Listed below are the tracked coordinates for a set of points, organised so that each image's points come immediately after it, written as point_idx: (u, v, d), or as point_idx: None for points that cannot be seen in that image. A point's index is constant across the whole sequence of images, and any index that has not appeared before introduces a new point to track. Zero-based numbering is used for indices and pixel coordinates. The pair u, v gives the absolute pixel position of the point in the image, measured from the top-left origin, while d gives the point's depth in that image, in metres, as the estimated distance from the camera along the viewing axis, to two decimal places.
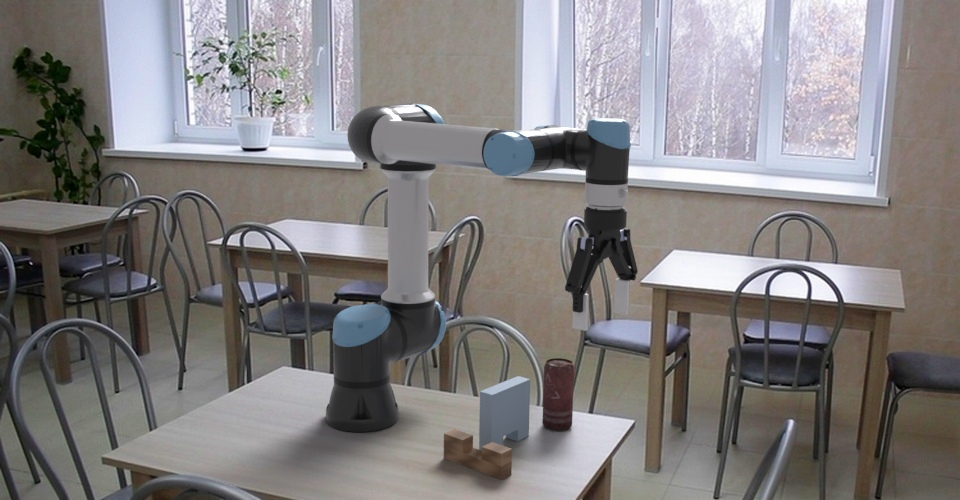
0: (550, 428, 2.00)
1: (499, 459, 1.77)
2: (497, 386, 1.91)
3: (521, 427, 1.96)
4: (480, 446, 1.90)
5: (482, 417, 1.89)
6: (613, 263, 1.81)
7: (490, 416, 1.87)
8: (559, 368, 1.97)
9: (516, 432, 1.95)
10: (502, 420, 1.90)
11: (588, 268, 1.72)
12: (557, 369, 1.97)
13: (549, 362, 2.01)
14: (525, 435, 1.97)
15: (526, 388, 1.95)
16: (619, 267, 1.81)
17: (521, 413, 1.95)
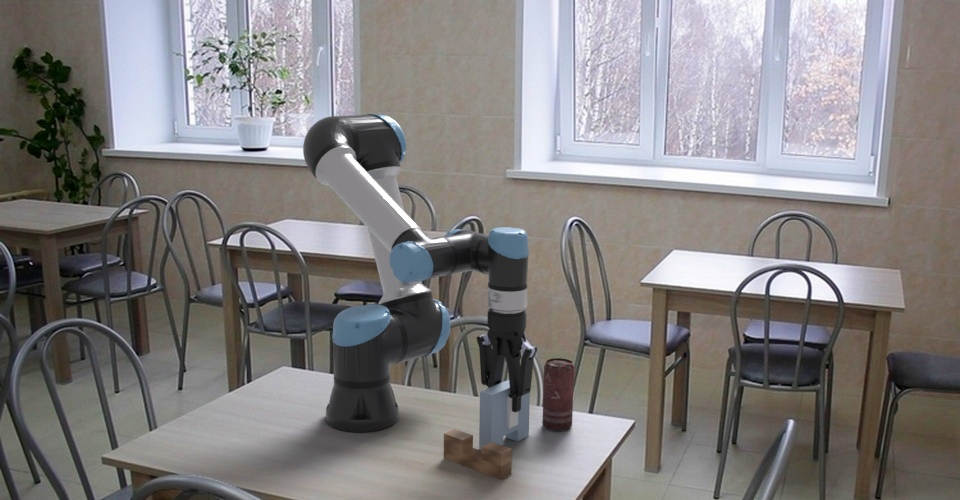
0: (550, 428, 2.00)
1: (499, 459, 1.77)
2: (497, 386, 1.91)
3: (521, 427, 1.96)
4: (480, 446, 1.90)
5: (482, 417, 1.89)
6: None
7: (490, 416, 1.87)
8: (559, 368, 1.97)
9: (516, 432, 1.95)
10: (502, 420, 1.90)
11: None
12: (557, 369, 1.97)
13: (549, 362, 2.01)
14: (525, 435, 1.97)
15: None
16: None
17: (521, 413, 1.95)
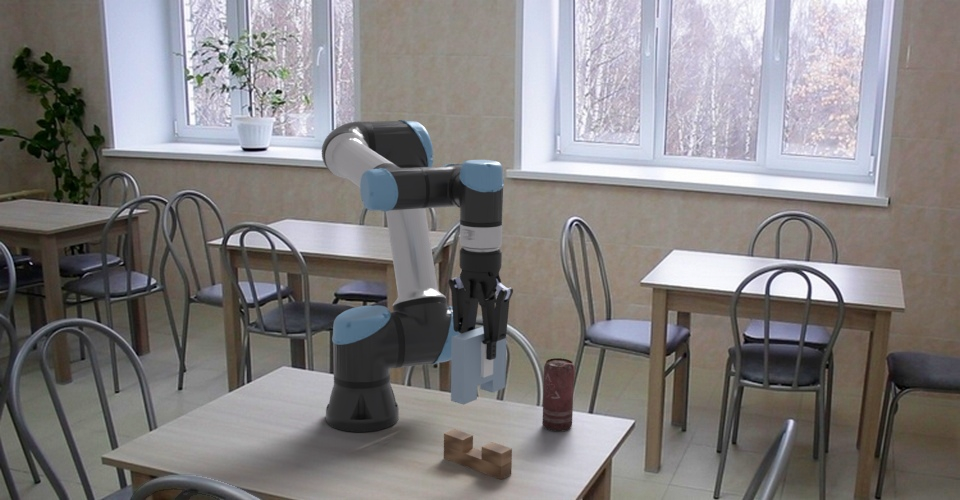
0: (550, 428, 2.00)
1: (499, 459, 1.77)
2: (471, 332, 1.77)
3: (497, 377, 1.82)
4: (452, 396, 1.76)
5: (454, 364, 1.75)
6: None
7: (462, 363, 1.74)
8: (559, 368, 1.97)
9: (491, 382, 1.81)
10: (475, 368, 1.76)
11: None
12: (557, 369, 1.97)
13: (549, 362, 2.01)
14: (501, 386, 1.83)
15: None
16: None
17: (496, 362, 1.81)
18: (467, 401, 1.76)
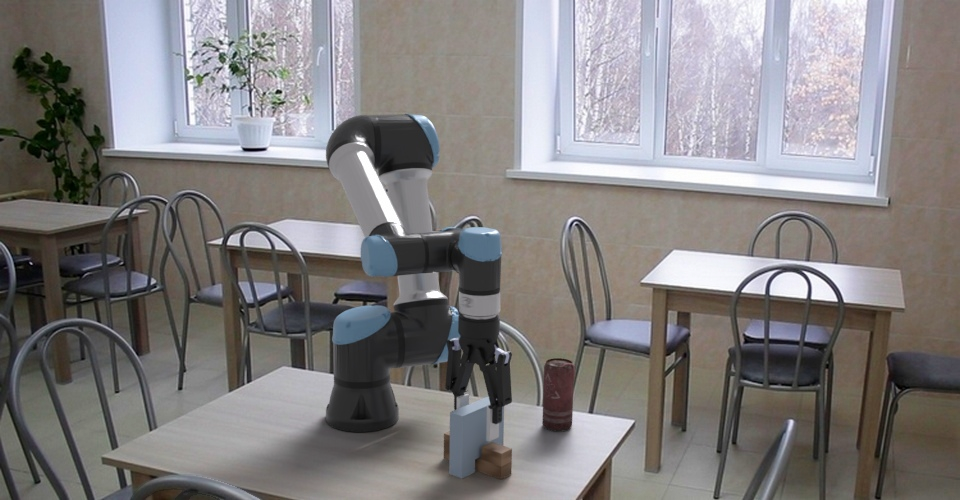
0: (550, 428, 2.00)
1: (499, 459, 1.77)
2: (469, 406, 1.80)
3: None
4: (450, 470, 1.79)
5: (452, 439, 1.78)
6: None
7: (460, 438, 1.77)
8: (559, 368, 1.97)
9: None
10: (473, 442, 1.79)
11: None
12: (557, 369, 1.97)
13: (549, 362, 2.01)
14: None
15: None
16: None
17: None
18: (465, 475, 1.79)
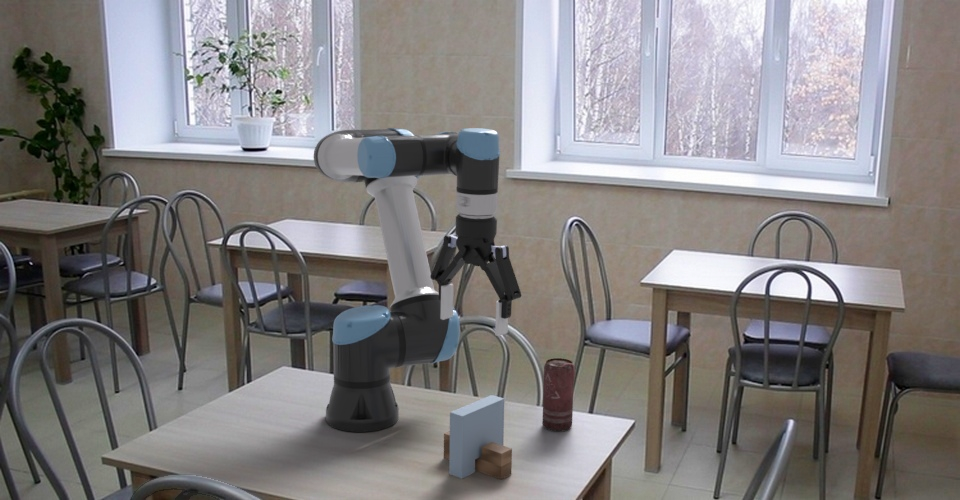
0: (550, 428, 2.00)
1: (499, 459, 1.77)
2: (469, 406, 1.80)
3: None
4: (450, 470, 1.79)
5: (452, 439, 1.78)
6: None
7: (460, 438, 1.77)
8: (559, 368, 1.97)
9: None
10: (473, 442, 1.79)
11: None
12: (557, 369, 1.97)
13: (549, 362, 2.01)
14: None
15: (500, 408, 1.84)
16: None
17: (494, 434, 1.84)
18: (465, 475, 1.79)
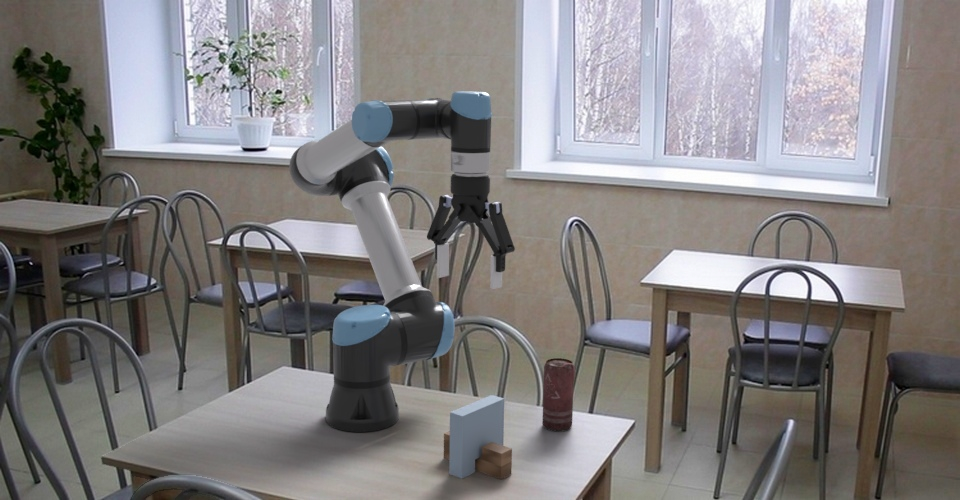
0: (550, 428, 2.00)
1: (499, 459, 1.77)
2: (469, 406, 1.80)
3: None
4: (450, 470, 1.79)
5: (452, 439, 1.78)
6: None
7: (460, 438, 1.77)
8: (559, 368, 1.97)
9: None
10: (473, 442, 1.79)
11: None
12: (557, 369, 1.97)
13: (549, 362, 2.01)
14: None
15: (500, 408, 1.84)
16: None
17: (494, 434, 1.84)
18: (465, 475, 1.79)
